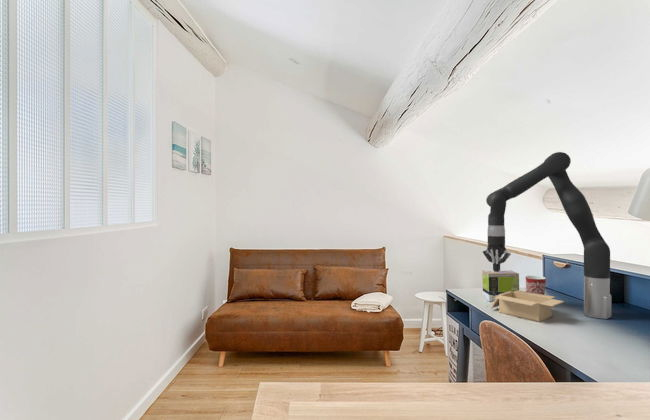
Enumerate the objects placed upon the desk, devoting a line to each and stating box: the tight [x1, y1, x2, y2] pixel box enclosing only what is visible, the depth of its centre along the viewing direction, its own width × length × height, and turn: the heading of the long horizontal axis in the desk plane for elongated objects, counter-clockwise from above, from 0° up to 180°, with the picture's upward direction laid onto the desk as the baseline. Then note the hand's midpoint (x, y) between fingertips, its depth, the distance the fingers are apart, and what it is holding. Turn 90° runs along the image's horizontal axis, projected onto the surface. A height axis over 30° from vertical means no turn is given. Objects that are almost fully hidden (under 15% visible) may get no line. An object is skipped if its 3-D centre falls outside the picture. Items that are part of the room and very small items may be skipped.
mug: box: [525, 275, 547, 295], centre depth 185 cm, size 13×9×14 cm
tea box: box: [482, 269, 520, 303], centre depth 192 cm, size 15×10×15 cm, turn 84°
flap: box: [490, 291, 511, 309], centre depth 175 cm, size 1×11×8 cm, turn 128°
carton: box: [495, 289, 565, 323], centre depth 164 cm, size 22×22×8 cm
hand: (496, 271), depth 176 cm, fingers closed
